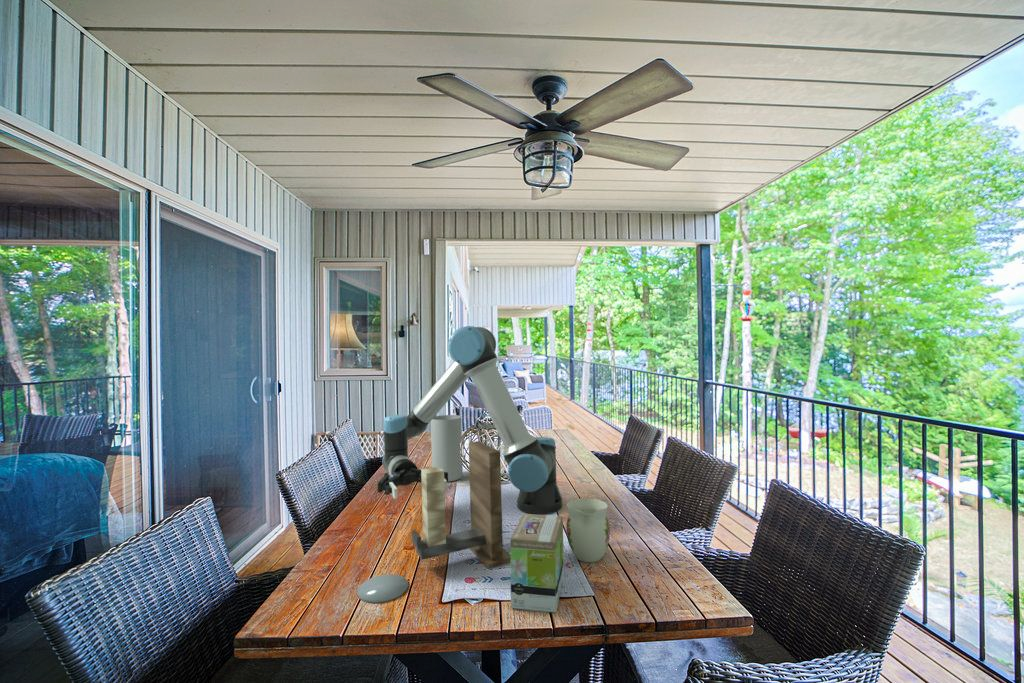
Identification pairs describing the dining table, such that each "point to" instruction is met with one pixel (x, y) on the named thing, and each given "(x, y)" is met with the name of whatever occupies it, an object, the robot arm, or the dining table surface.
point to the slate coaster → (382, 588)
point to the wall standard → (477, 513)
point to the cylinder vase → (447, 445)
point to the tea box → (537, 563)
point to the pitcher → (588, 528)
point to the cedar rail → (433, 506)
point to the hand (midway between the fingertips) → (421, 489)
